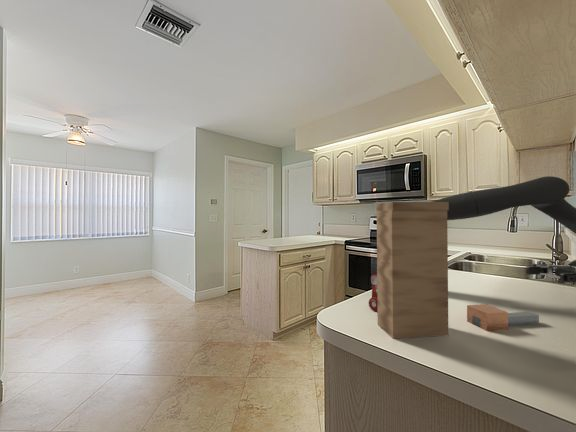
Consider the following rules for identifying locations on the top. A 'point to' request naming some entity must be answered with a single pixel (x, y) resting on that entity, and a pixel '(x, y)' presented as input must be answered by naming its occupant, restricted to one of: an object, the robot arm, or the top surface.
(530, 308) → the top surface
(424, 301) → the walnut pedestal
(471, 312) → the orange and gray block
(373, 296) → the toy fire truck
